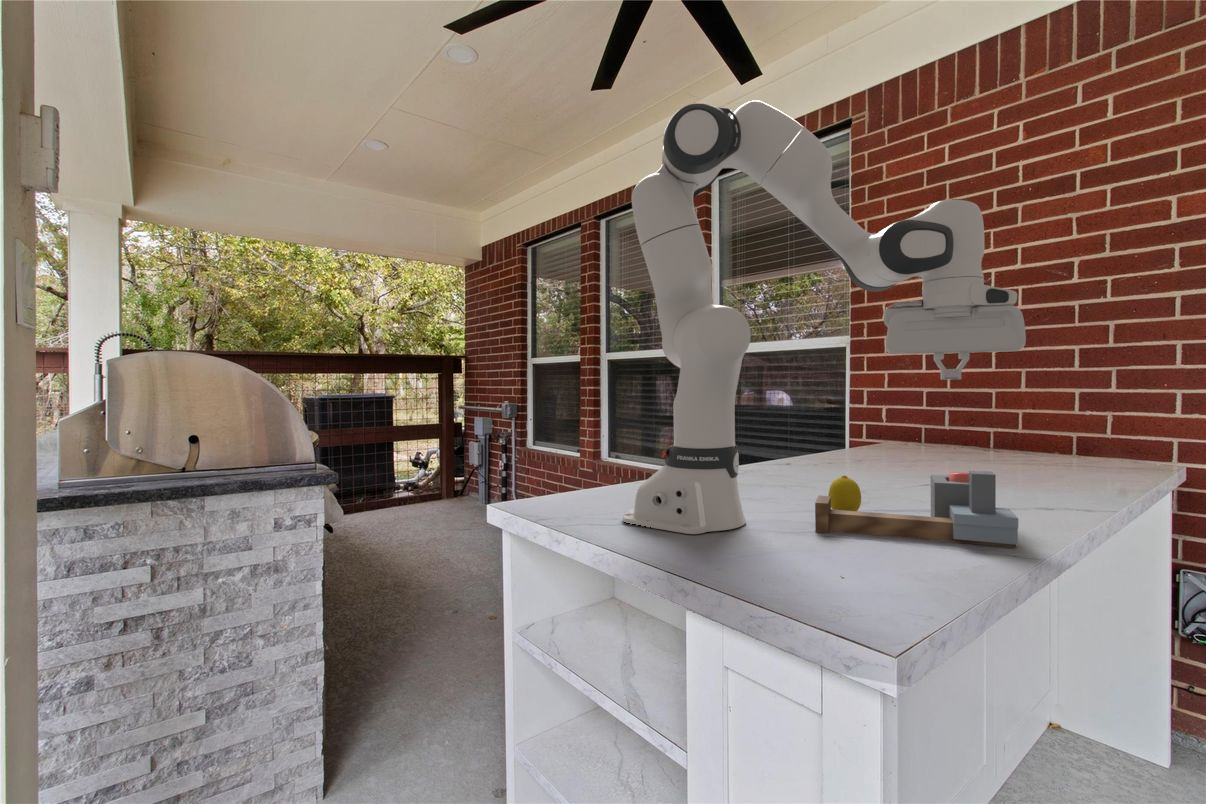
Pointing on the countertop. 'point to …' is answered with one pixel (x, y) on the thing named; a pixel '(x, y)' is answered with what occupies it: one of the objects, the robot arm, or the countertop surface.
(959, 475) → the pink block
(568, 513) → the countertop surface
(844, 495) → the lemon
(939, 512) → the grey block
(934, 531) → the rail
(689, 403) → the robot arm
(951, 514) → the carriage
